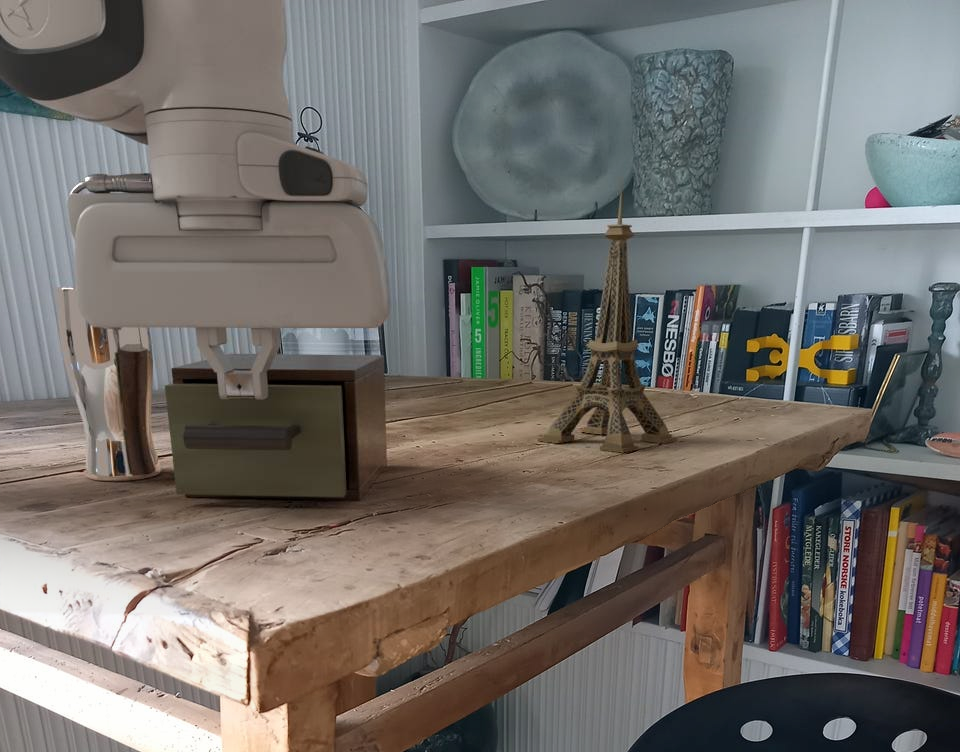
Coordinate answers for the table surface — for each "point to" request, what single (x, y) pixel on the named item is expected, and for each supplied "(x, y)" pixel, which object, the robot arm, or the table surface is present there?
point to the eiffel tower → (612, 366)
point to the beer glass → (110, 392)
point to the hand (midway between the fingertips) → (244, 398)
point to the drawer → (259, 440)
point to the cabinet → (360, 405)
